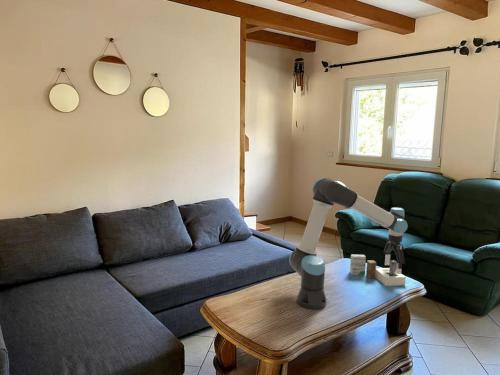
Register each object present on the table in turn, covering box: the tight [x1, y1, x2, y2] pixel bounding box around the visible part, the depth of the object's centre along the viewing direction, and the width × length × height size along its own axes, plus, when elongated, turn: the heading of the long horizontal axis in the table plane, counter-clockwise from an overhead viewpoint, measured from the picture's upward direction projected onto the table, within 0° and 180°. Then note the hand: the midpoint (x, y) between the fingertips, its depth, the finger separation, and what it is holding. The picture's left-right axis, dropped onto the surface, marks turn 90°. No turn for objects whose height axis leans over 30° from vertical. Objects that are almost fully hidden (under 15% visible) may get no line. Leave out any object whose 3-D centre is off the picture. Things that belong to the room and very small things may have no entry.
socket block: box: [375, 267, 406, 287], centre depth 218 cm, size 12×14×5 cm
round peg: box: [389, 259, 398, 276], centre depth 214 cm, size 4×4×12 cm
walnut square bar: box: [365, 259, 377, 279], centre depth 222 cm, size 4×4×10 cm
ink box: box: [349, 254, 367, 276], centre depth 227 cm, size 9×5×12 cm, turn 84°
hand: (392, 269), depth 214 cm, fingers open, 13 cm apart
